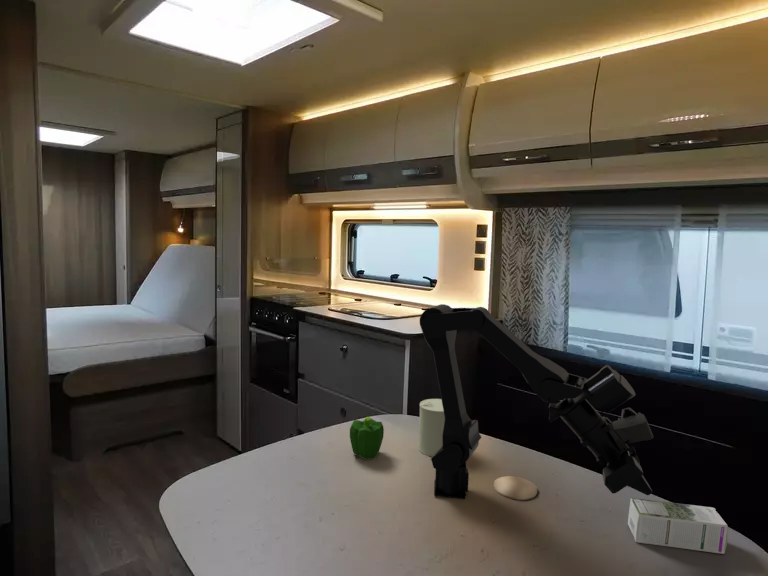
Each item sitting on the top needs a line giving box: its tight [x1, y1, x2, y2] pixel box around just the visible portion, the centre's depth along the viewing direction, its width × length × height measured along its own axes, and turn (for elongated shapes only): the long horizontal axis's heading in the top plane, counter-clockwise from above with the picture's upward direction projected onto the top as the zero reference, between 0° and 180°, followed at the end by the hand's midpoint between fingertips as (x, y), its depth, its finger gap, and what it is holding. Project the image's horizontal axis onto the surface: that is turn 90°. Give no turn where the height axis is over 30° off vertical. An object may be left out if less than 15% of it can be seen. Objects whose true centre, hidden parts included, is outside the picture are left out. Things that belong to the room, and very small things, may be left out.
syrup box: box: [627, 497, 729, 555], centre depth 91 cm, size 6×6×14 cm
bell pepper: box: [349, 416, 385, 460], centre depth 122 cm, size 8×8×10 cm
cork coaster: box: [493, 475, 538, 501], centre depth 108 cm, size 9×9×1 cm
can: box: [417, 398, 445, 458], centre depth 126 cm, size 9×9×12 cm
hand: (649, 493), depth 91 cm, fingers closed
